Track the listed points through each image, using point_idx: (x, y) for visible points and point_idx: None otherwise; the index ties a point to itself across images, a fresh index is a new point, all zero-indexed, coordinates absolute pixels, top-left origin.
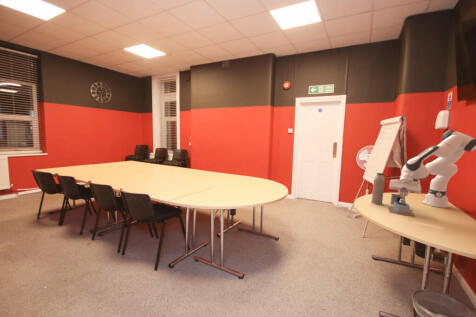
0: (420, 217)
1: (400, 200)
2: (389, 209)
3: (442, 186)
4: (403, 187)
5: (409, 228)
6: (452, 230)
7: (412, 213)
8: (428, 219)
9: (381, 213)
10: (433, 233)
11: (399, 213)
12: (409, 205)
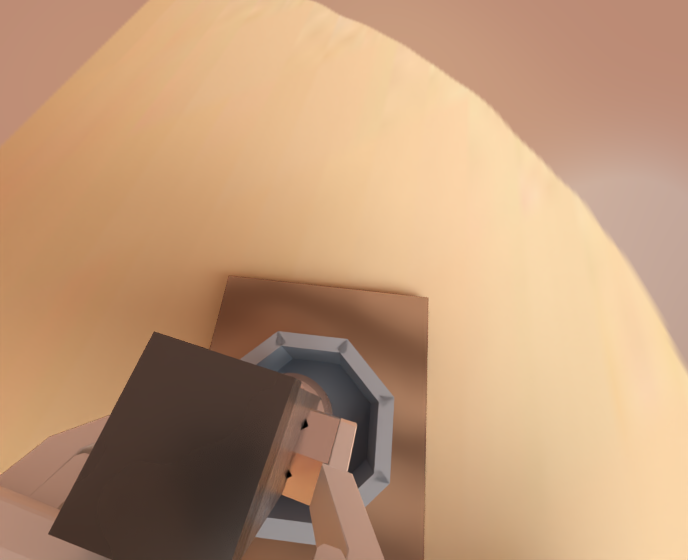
0: None
1: None
2: (417, 429)
3: None
4: (213, 455)
5: (339, 89)
6: (75, 169)
7: None
8: (108, 346)
9: (483, 302)
10: (233, 78)
11: (341, 325)
12: None
